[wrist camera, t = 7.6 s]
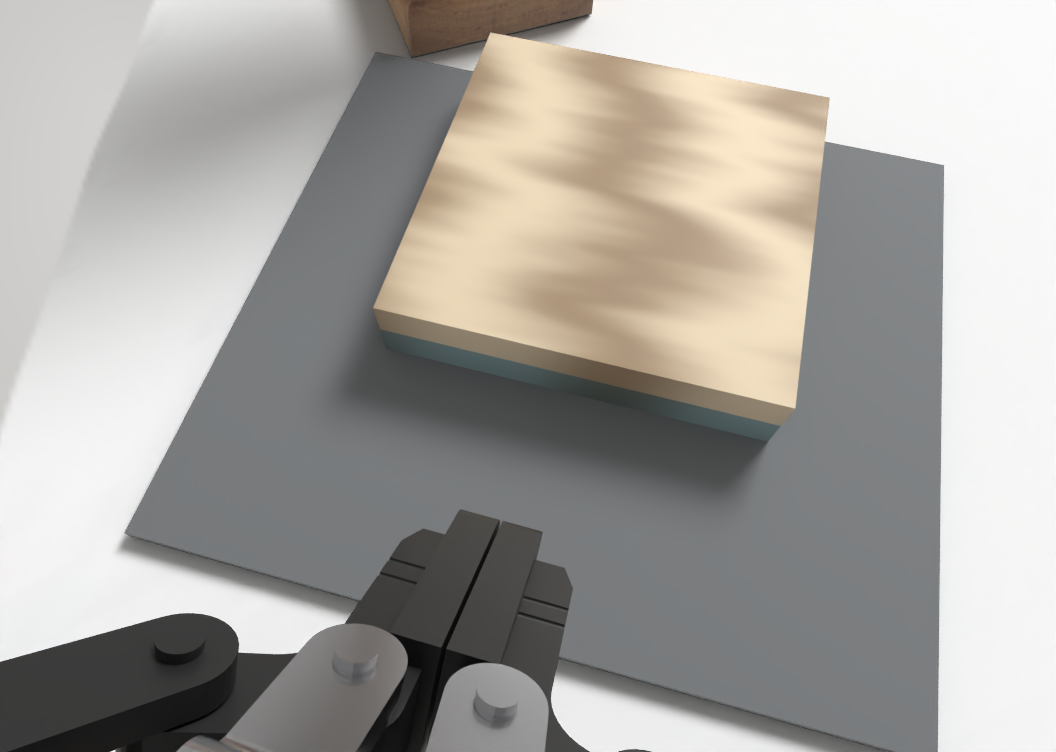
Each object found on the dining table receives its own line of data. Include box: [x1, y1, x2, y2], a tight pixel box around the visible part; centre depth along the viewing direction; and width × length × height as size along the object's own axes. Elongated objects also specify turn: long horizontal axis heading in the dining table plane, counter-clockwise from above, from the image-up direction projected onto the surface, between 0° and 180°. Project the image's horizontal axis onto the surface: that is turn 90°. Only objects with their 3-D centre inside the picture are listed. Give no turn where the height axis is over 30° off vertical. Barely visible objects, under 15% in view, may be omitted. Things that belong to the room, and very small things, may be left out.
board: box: [373, 32, 829, 442], centre depth 24 cm, size 12×2×12 cm
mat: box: [125, 52, 944, 752], centre depth 24 cm, size 22×20×1 cm
